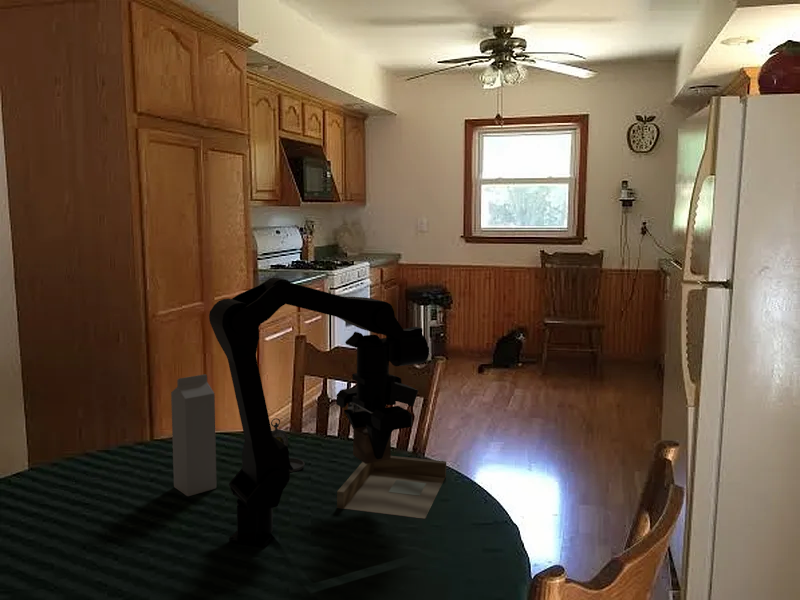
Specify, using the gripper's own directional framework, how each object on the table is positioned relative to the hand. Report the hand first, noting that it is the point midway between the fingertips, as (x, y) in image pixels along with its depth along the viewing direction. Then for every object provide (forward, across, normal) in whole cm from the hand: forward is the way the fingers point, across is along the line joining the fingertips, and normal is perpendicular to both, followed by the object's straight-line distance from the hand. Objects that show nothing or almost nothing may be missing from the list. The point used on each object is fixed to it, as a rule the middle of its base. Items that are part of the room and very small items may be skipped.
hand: (372, 453), depth 123 cm
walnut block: (+1, 0, 0) cm, 1 cm away
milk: (+10, +24, +26) cm, 37 cm away
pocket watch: (+10, +26, +7) cm, 29 cm away
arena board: (+10, +2, -6) cm, 12 cm away
